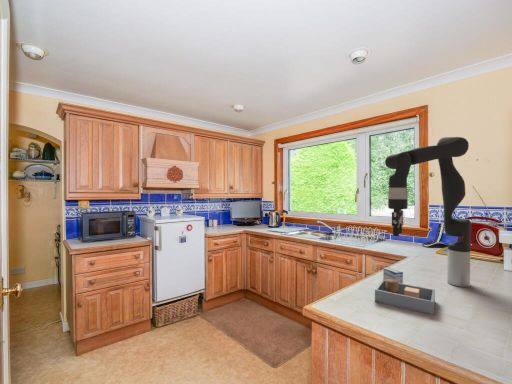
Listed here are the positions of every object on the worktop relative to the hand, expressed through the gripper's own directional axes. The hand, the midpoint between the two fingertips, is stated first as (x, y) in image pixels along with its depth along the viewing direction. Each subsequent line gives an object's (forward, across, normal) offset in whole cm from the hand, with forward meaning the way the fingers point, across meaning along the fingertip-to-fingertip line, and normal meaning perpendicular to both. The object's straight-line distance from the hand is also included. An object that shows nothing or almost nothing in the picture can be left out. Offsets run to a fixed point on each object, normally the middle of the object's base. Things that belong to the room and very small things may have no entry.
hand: (397, 234), depth 116 cm
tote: (+28, -3, -3) cm, 28 cm away
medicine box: (+28, +12, +4) cm, 31 cm away
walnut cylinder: (+27, -3, +2) cm, 27 cm away
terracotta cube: (+27, -3, -6) cm, 28 cm away
